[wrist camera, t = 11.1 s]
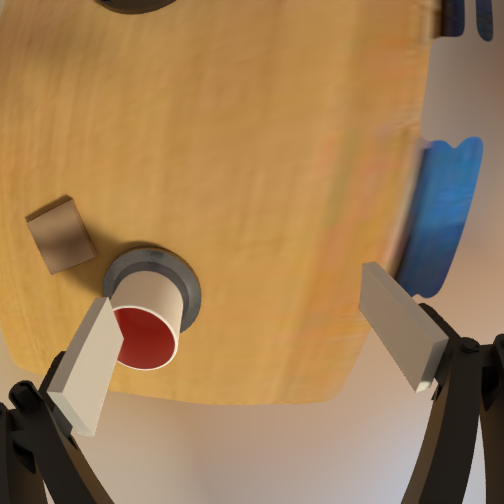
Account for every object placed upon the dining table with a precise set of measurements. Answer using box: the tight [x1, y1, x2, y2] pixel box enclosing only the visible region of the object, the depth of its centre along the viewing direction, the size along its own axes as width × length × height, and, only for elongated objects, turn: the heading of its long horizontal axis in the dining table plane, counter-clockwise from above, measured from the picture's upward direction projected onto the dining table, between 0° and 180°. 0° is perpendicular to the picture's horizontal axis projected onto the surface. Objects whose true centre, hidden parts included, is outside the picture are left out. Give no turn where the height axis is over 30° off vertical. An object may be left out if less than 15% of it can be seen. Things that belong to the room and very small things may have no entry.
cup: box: [110, 271, 183, 370], centre depth 38 cm, size 10×10×10 cm
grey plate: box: [103, 246, 201, 333], centre depth 44 cm, size 15×15×2 cm
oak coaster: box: [27, 199, 97, 275], centre depth 39 cm, size 9×9×1 cm
